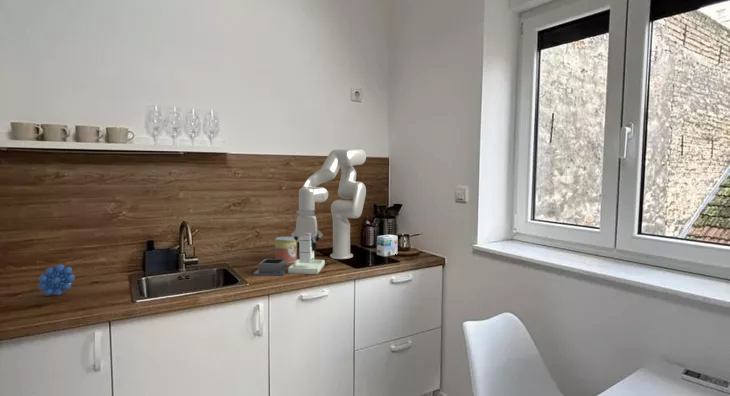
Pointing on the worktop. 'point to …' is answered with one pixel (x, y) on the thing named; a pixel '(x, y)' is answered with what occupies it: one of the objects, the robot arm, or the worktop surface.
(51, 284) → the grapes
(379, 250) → the light bulb box
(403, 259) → the worktop surface
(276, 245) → the canned food
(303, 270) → the tray
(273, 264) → the sleeve holder
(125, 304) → the worktop surface
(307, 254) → the syrup box
